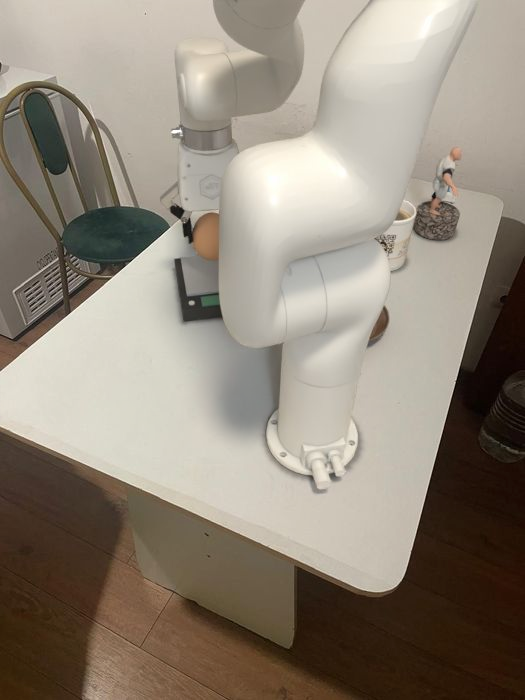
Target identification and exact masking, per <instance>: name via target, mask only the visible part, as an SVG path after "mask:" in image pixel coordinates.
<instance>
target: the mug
mask: <svg viewBox="0 0 525 700" xmlns="http://www.w3.org/2000/svg"><path fill="white" fill-rule="evenodd" d="M416 214H417V208H416V207H415V205H414V204H413V203H411V202H410V201H408V200H406V199H403V202H402V205H401V207H400V210H399V212H398V215H397V217H396V219H395V221H394V222H393V224H392V225H391V227H390V228H389V229H388V230H387V231H386V232H384V233H383V234H382V235H380V236H378V237H376V238H374V239H375V240H377V241H378V242H379V243H380V244H381V246H382V247H383V249H384V250H385V252H386V254H387V257H388V260H389V263H390V270H391V272H393V271H397V270H399V269H401V268H402V267H403V266H404V264H405V262H406V258H407V255H408V250H409V247H410V242H411V238H412V233H413V230H414V222H415V218H416Z"/></svg>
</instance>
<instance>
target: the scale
mask: <svg viewBox="0 0 525 700" xmlns="http://www.w3.org/2000/svg"><path fill="white" fill-rule="evenodd" d="M173 260H174V261H173V262H174V269H175V275H176V282H177V288H178V296H179V301H180V309H181V314H182V320H183V321H182V322H183V323H184V322H185V323H187V322H194V321H201V320H209V319H217V318H223V316H222V312H221V307H220V300H219V260H208V259H205V258H203V257H202V256H200V255H199V254H198V255H191V256H182V257H177V258H173Z"/></svg>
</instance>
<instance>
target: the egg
mask: <svg viewBox="0 0 525 700" xmlns="http://www.w3.org/2000/svg"><path fill="white" fill-rule="evenodd" d="M192 236H193V243H192V247H193V249H194V251H195V252H196V253H197V254H198V256H199V255H200V256H202V257H203V258H205V259H208V260H219V212H213V211H212V212H205V213H204V214H202V215H201V216H200V217H198V219H197V220H196V221H195V223H194V225H193V227H192Z"/></svg>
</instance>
